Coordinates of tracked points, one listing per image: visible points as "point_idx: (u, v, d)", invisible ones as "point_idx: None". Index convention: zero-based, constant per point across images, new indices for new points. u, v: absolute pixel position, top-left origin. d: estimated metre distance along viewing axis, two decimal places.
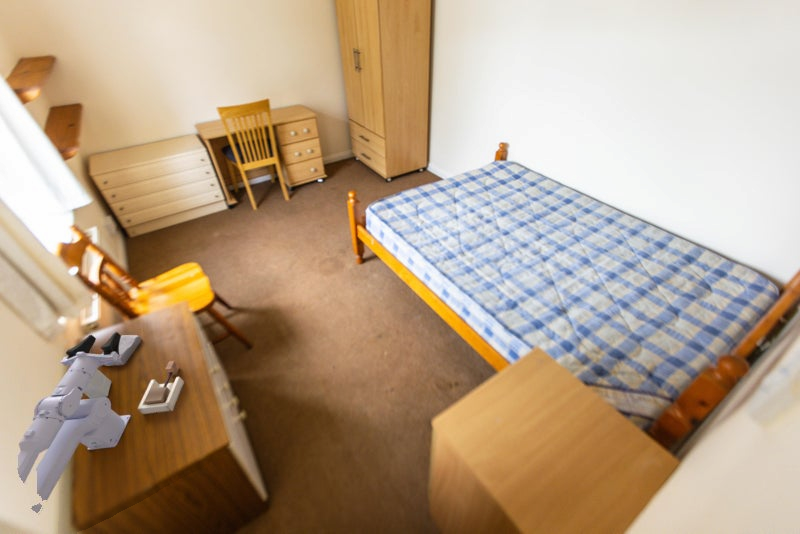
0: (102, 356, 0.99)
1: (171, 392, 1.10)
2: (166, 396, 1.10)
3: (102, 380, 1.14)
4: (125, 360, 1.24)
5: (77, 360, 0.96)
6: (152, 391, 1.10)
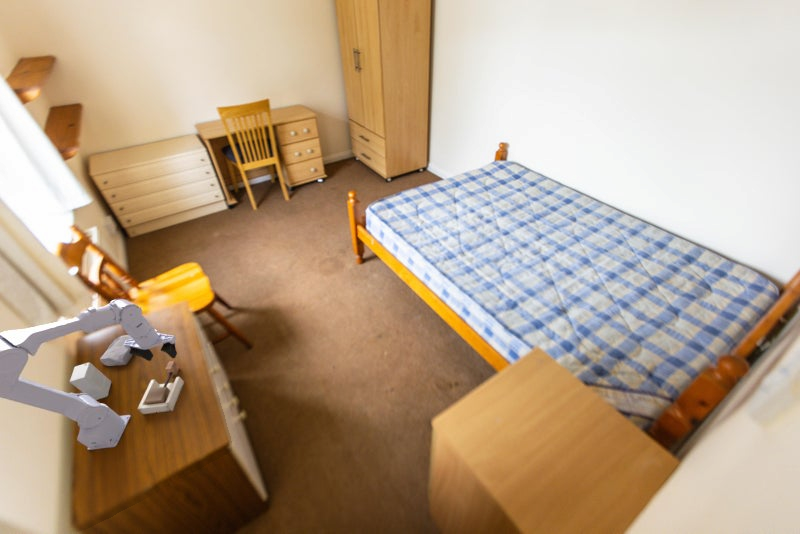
0: (166, 335, 1.10)
1: (171, 392, 1.10)
2: (166, 396, 1.10)
3: (102, 380, 1.14)
4: (127, 360, 1.24)
5: None
6: (152, 391, 1.10)
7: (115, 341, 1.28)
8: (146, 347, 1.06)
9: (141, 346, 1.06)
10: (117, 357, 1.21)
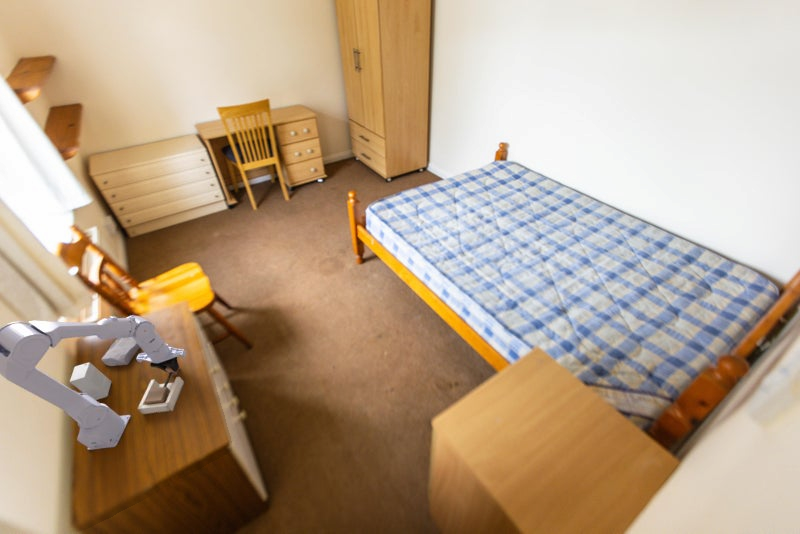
0: (177, 349, 1.15)
1: (171, 392, 1.10)
2: (166, 396, 1.10)
3: (102, 380, 1.14)
4: (129, 360, 1.24)
5: None
6: (152, 391, 1.10)
7: (117, 341, 1.28)
8: (158, 361, 1.11)
9: (153, 360, 1.11)
10: (118, 357, 1.21)
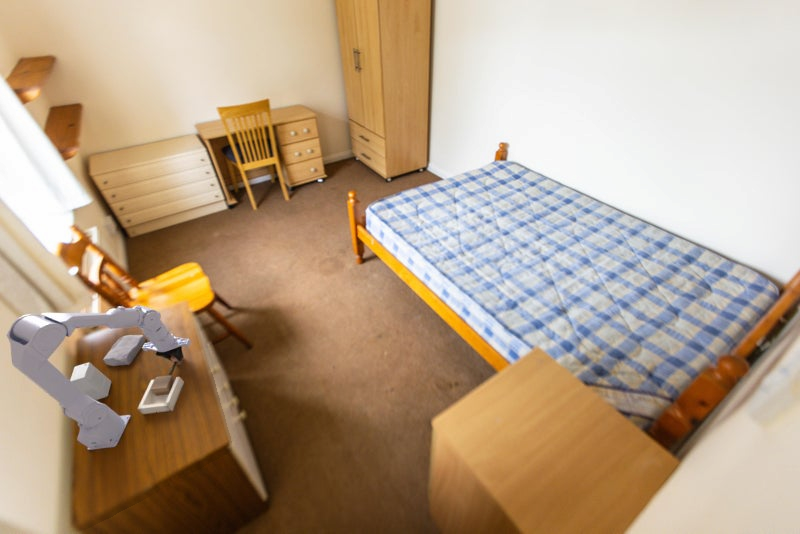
0: None
1: (171, 392, 1.10)
2: (171, 384, 1.13)
3: (102, 380, 1.14)
4: (131, 360, 1.24)
5: None
6: (158, 379, 1.13)
7: (118, 341, 1.28)
8: (163, 350, 1.14)
9: (159, 349, 1.14)
10: (120, 357, 1.21)
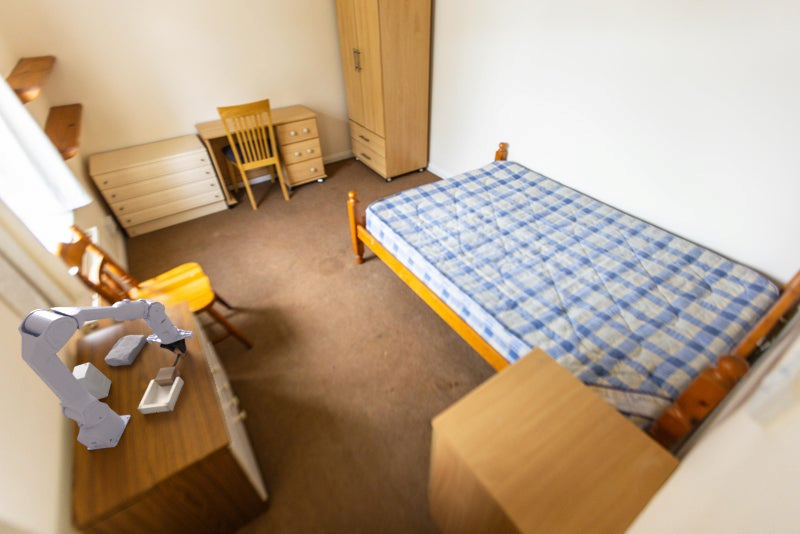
0: (185, 331, 1.20)
1: (171, 392, 1.10)
2: (175, 375, 1.16)
3: (102, 380, 1.14)
4: (132, 360, 1.24)
5: None
6: (162, 370, 1.15)
7: (119, 341, 1.28)
8: (167, 342, 1.17)
9: (163, 341, 1.16)
10: (122, 357, 1.21)
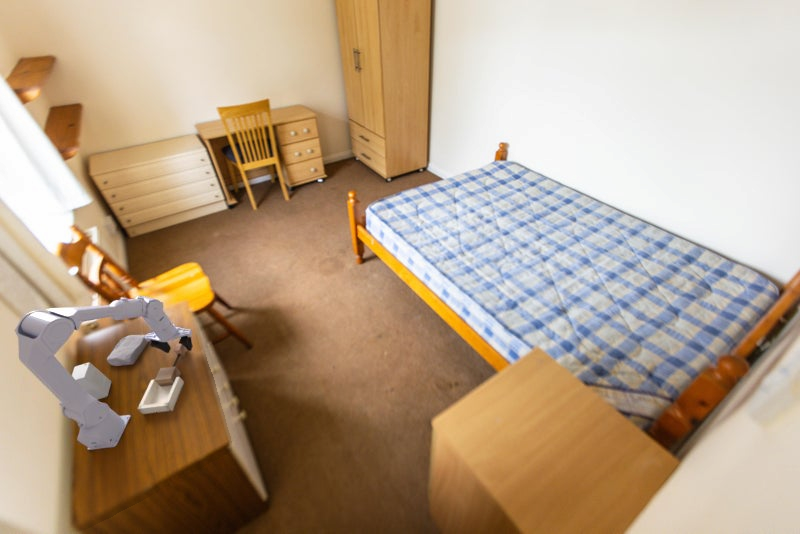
0: (184, 329, 1.19)
1: (171, 392, 1.10)
2: (175, 375, 1.16)
3: (102, 380, 1.14)
4: (134, 360, 1.24)
5: None
6: (162, 370, 1.15)
7: (121, 341, 1.28)
8: (166, 340, 1.16)
9: (161, 339, 1.15)
10: (124, 357, 1.21)
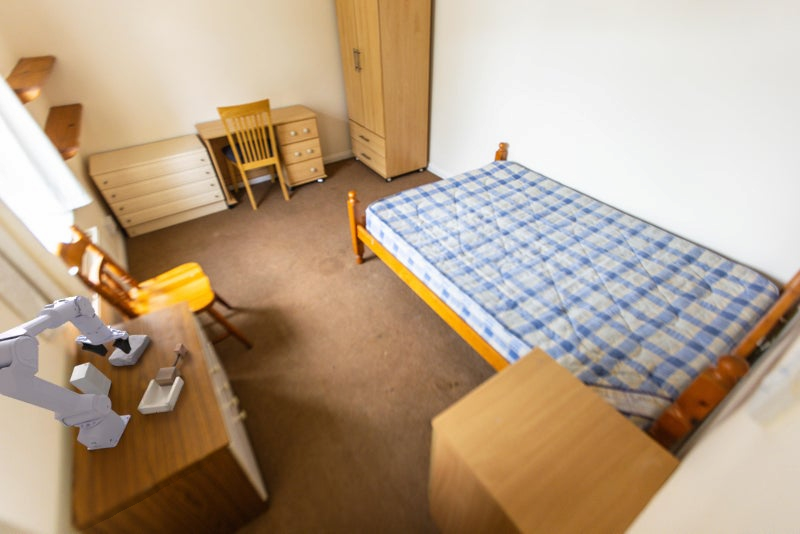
0: (119, 331, 1.11)
1: (171, 392, 1.10)
2: (175, 375, 1.16)
3: (102, 380, 1.14)
4: (135, 360, 1.24)
5: None
6: (162, 370, 1.15)
7: None
8: (97, 343, 1.08)
9: (92, 342, 1.07)
10: (125, 357, 1.21)
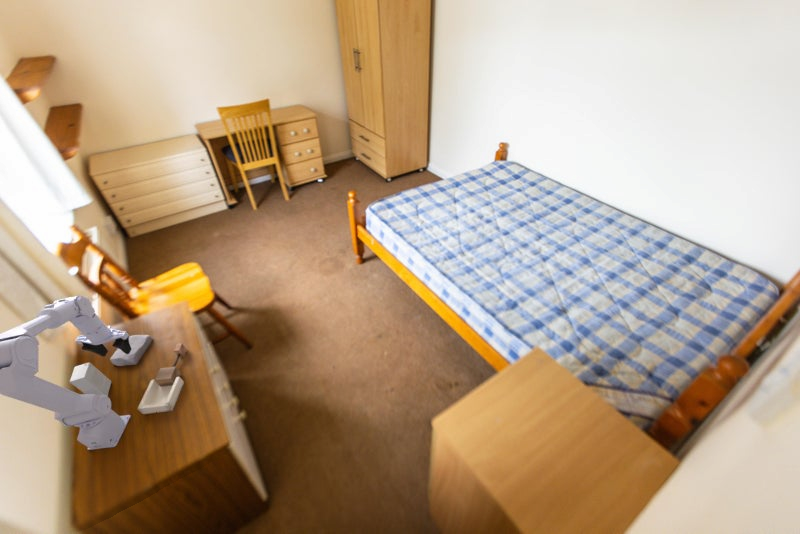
0: (119, 331, 1.11)
1: (171, 392, 1.10)
2: (175, 375, 1.16)
3: (102, 380, 1.14)
4: (137, 360, 1.24)
5: None
6: (162, 370, 1.15)
7: None
8: (97, 343, 1.08)
9: (92, 342, 1.07)
10: (127, 357, 1.21)
